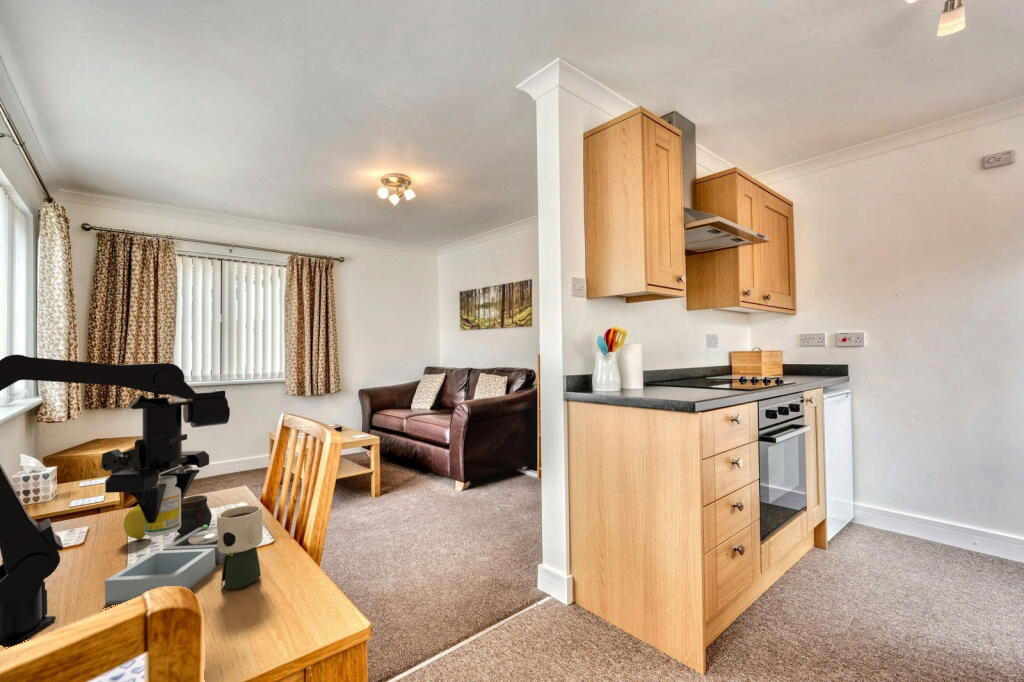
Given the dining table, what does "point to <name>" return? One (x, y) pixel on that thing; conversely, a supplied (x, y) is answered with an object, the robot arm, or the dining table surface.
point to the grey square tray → (183, 545)
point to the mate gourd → (194, 514)
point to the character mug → (240, 544)
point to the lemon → (135, 523)
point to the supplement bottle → (167, 510)
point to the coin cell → (204, 538)
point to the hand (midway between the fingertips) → (162, 517)
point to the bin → (160, 573)
